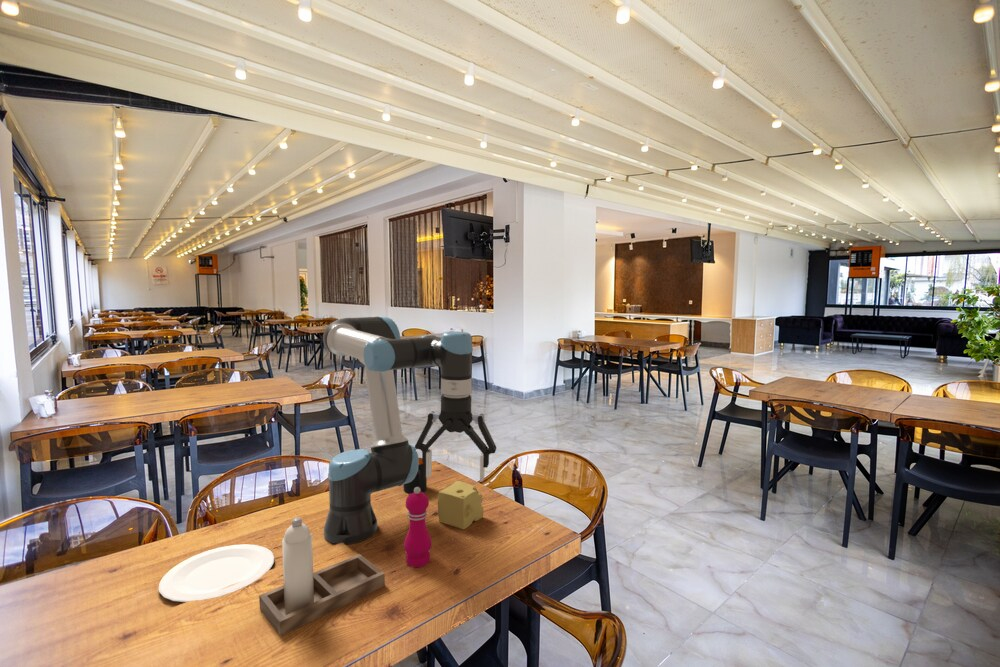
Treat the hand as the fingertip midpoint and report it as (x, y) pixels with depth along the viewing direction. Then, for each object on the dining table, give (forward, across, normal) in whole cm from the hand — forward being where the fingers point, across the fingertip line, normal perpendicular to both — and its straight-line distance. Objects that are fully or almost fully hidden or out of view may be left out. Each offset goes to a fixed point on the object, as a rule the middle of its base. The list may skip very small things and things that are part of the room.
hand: (455, 477), depth 120 cm
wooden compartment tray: (+24, -27, -16) cm, 40 cm away
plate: (+26, -58, -9) cm, 64 cm away
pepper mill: (+25, -10, +3) cm, 27 cm away
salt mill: (+23, -30, -21) cm, 43 cm away
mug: (+26, -24, +47) cm, 58 cm away
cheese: (+25, -4, +27) cm, 37 cm away
